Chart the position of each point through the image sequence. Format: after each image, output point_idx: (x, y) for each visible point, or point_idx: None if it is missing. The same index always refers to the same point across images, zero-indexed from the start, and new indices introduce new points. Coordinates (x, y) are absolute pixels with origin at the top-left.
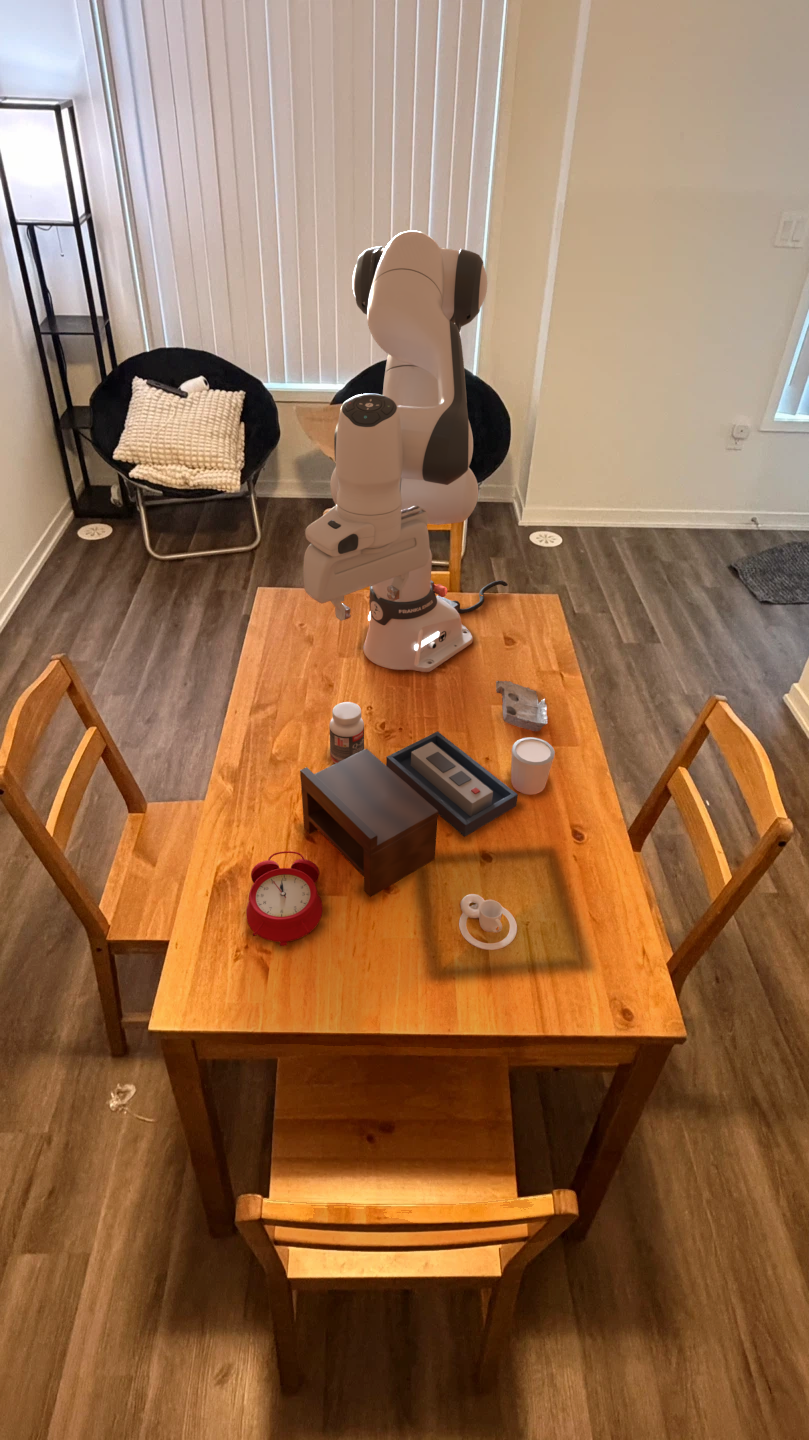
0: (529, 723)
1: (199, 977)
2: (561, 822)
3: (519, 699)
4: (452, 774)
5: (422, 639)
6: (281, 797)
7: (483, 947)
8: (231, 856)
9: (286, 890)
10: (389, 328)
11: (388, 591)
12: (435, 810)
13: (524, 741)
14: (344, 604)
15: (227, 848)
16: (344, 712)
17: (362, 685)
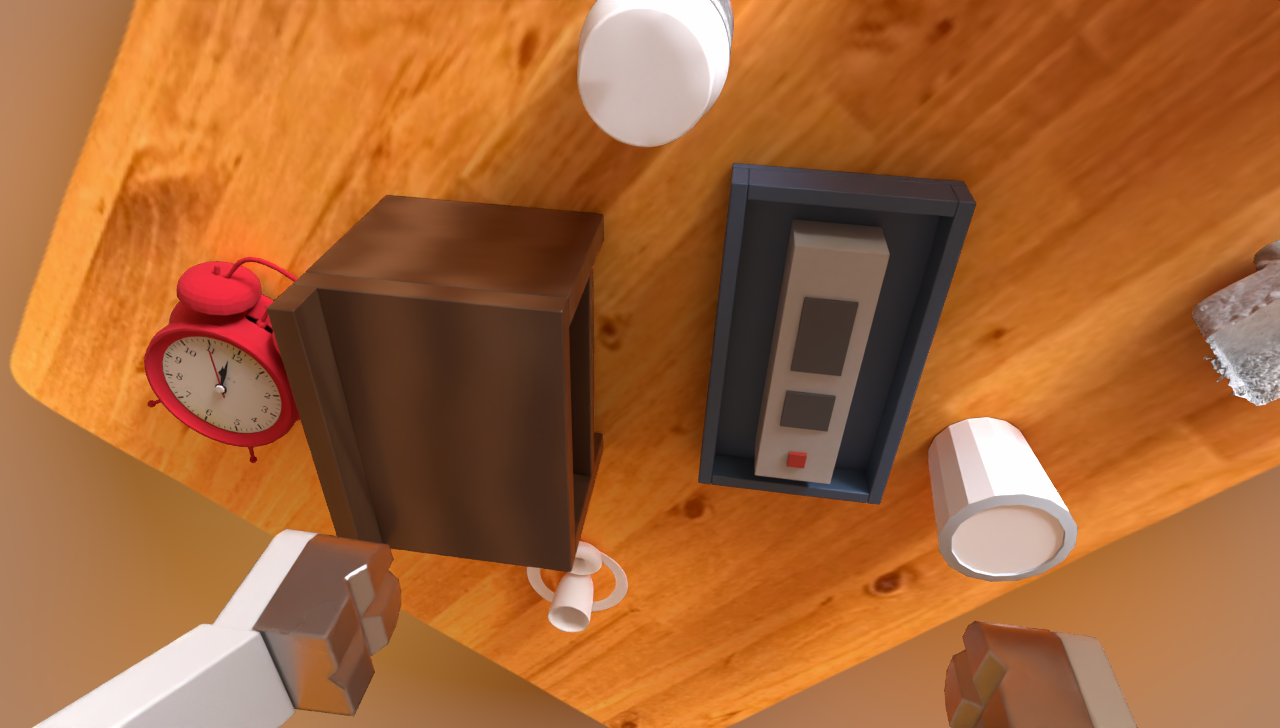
0: (1230, 366)
1: (69, 356)
2: (900, 551)
3: None
4: (805, 388)
5: None
6: (377, 40)
7: (540, 593)
8: (176, 147)
9: (232, 382)
10: None
11: (992, 701)
12: (567, 567)
13: (1033, 508)
14: (326, 658)
15: (171, 115)
16: (625, 86)
17: None
